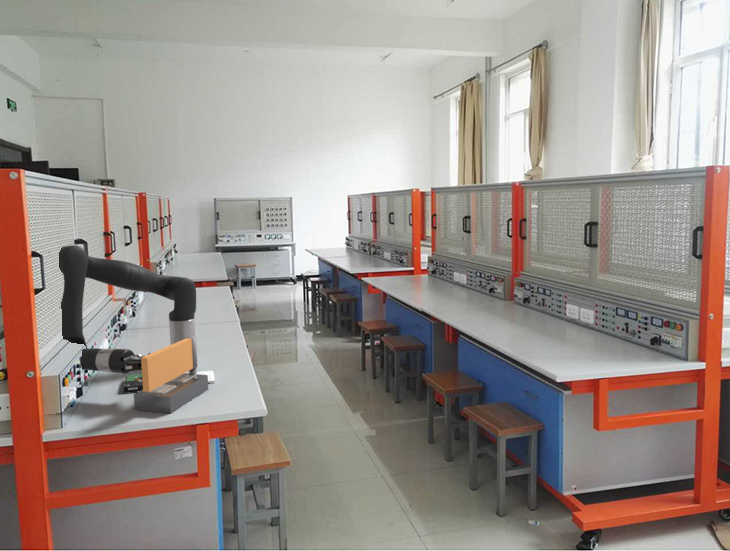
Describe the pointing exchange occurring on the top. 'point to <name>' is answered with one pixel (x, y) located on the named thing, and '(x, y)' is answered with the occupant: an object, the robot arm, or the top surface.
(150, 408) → the grey flat block
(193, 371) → the boom post
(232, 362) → the top surface
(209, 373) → the external hard drive
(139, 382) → the disk drive
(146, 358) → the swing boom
